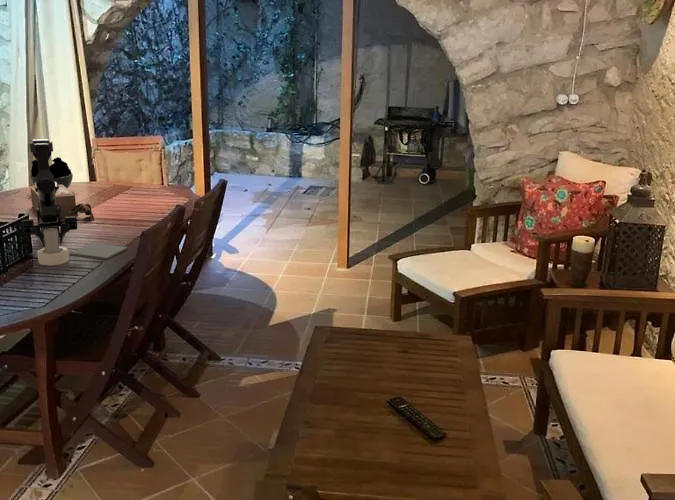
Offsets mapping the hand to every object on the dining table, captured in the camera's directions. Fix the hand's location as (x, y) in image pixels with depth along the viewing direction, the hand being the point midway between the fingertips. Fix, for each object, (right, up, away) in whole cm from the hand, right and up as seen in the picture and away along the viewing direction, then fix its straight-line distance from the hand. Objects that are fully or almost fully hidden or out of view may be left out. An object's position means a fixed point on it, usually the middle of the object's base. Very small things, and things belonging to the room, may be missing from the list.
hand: (52, 244), depth 246 cm
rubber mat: (+12, -3, +15) cm, 19 cm away
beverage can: (-1, -6, +3) cm, 7 cm away
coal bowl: (-43, +27, +104) cm, 116 cm away
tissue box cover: (-29, +16, +71) cm, 78 cm away
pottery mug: (-11, +12, +60) cm, 62 cm away
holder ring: (-1, -6, +3) cm, 7 cm away
